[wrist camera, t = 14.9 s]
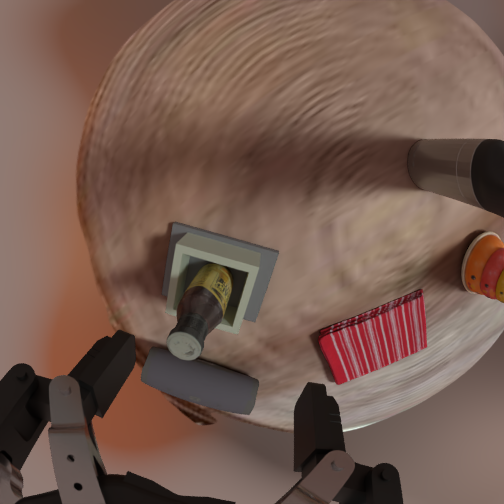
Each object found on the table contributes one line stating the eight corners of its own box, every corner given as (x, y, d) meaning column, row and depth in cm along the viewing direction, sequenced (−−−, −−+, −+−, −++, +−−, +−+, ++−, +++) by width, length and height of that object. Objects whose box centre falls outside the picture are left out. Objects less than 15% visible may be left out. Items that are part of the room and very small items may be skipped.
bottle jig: (278, 250, 45) (280, 267, 38) (255, 318, 50) (253, 342, 43) (175, 221, 44) (159, 233, 38) (163, 291, 49) (149, 311, 42)
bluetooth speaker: (154, 362, 56) (139, 392, 47) (158, 334, 53) (140, 364, 44) (247, 391, 57) (244, 425, 48) (260, 366, 54) (258, 401, 45)
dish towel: (314, 329, 51) (316, 337, 48) (420, 285, 46) (426, 291, 44) (333, 381, 56) (335, 389, 53) (424, 344, 51) (429, 350, 49)
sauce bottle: (236, 292, 47) (217, 373, 28) (201, 293, 47) (166, 370, 29) (232, 257, 45) (208, 327, 26) (196, 258, 45) (151, 325, 26)
